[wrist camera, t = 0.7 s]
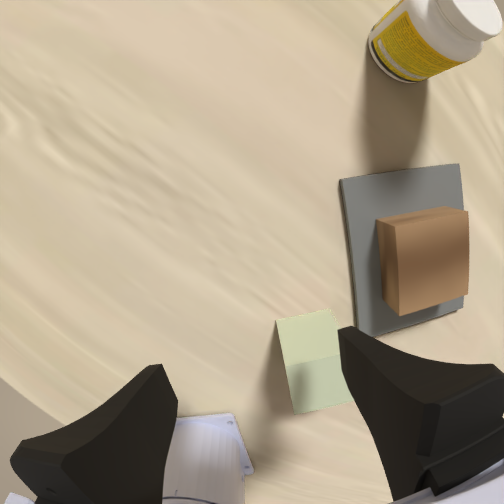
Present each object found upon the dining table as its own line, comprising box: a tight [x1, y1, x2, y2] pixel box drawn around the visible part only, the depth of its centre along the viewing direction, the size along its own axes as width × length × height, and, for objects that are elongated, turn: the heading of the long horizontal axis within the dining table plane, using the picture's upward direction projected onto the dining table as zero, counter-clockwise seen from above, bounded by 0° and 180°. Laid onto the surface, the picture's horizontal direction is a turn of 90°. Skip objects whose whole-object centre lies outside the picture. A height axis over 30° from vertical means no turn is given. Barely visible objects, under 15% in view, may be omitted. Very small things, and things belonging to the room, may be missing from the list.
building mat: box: [340, 164, 464, 337], centre depth 21 cm, size 12×10×1 cm
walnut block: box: [376, 206, 469, 316], centre depth 19 cm, size 6×6×3 cm
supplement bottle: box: [368, 0, 502, 83], centre depth 13 cm, size 5×5×10 cm
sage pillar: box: [276, 309, 354, 415], centre depth 20 cm, size 4×4×6 cm
